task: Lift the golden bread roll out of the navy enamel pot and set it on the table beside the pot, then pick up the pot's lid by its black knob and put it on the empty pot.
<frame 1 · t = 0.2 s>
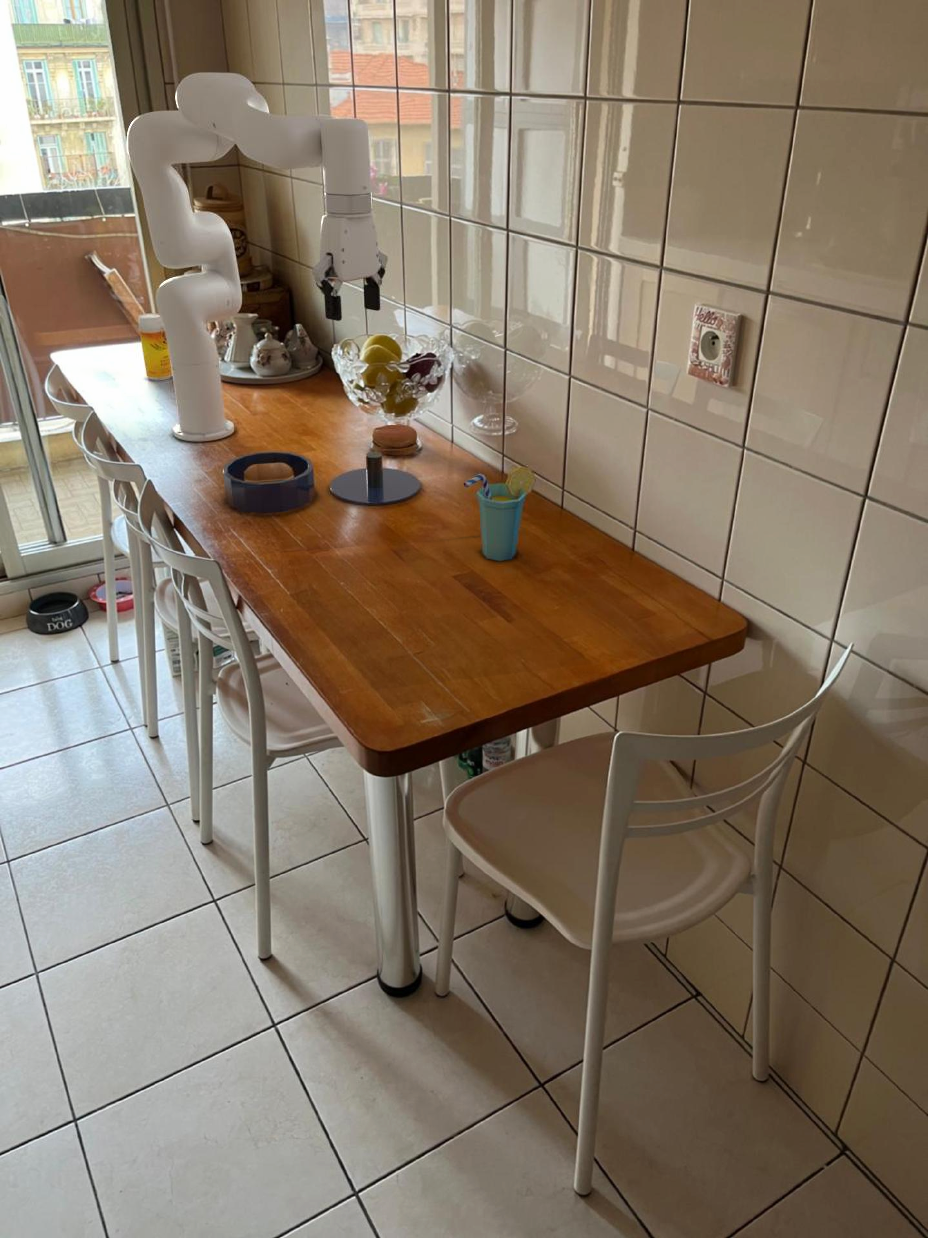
hand: (353, 314, 157), 31 cm above the table, tool pointing down, fingers open, 9 cm apart
lid: (375, 487, 170), point 1 cm above the table
pot: (271, 498, 166), on the table
burger: (394, 450, 189), on the table
yellow tall cylinder: (160, 378, 229), on the table
bread: (270, 495, 166), resting on pot
cup: (495, 556, 149), on the table
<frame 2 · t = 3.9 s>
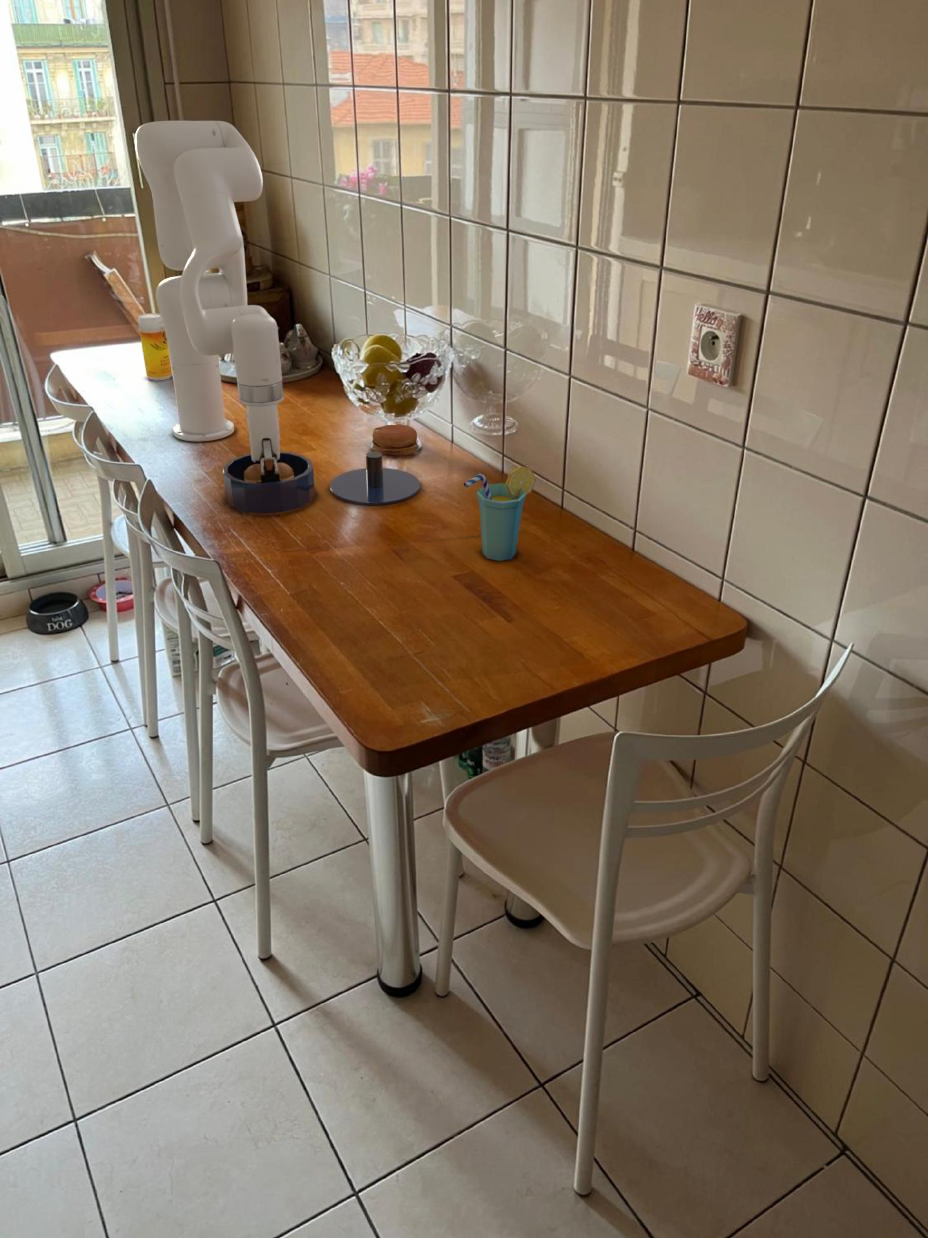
hand: (270, 485, 165), 3 cm above the table, tool pointing down, fingers open, 9 cm apart
nothing on the table moved.
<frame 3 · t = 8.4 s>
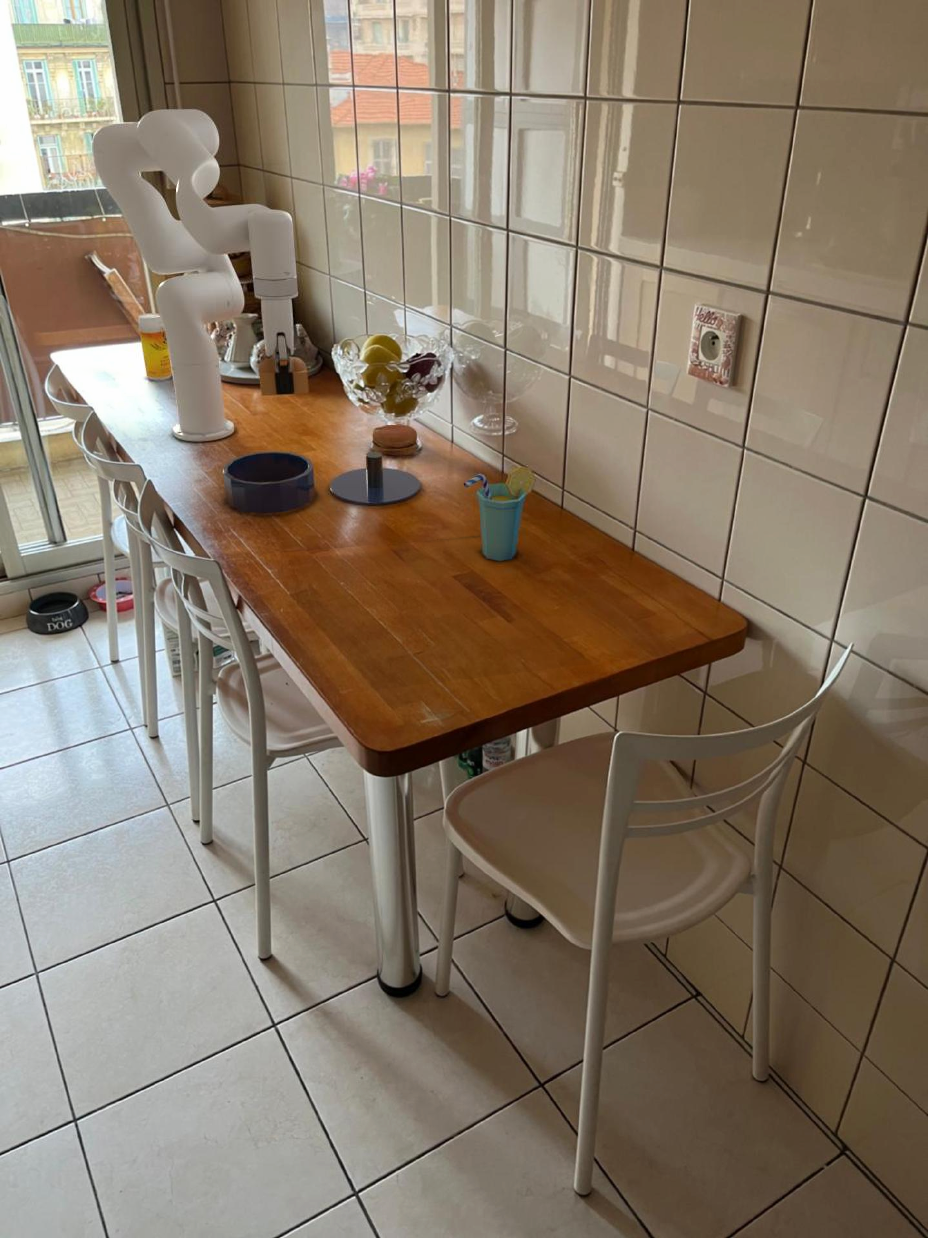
hand: (284, 387, 171), 16 cm above the table, tool pointing down, fingers closed on bread, 5 cm apart
bread: (284, 390, 171), point 15 cm above the table, touching gripper
everything else where it was.
when the fingers open (0 cm above the table, at t = 12.3 s): bread stays where it is, on the table.
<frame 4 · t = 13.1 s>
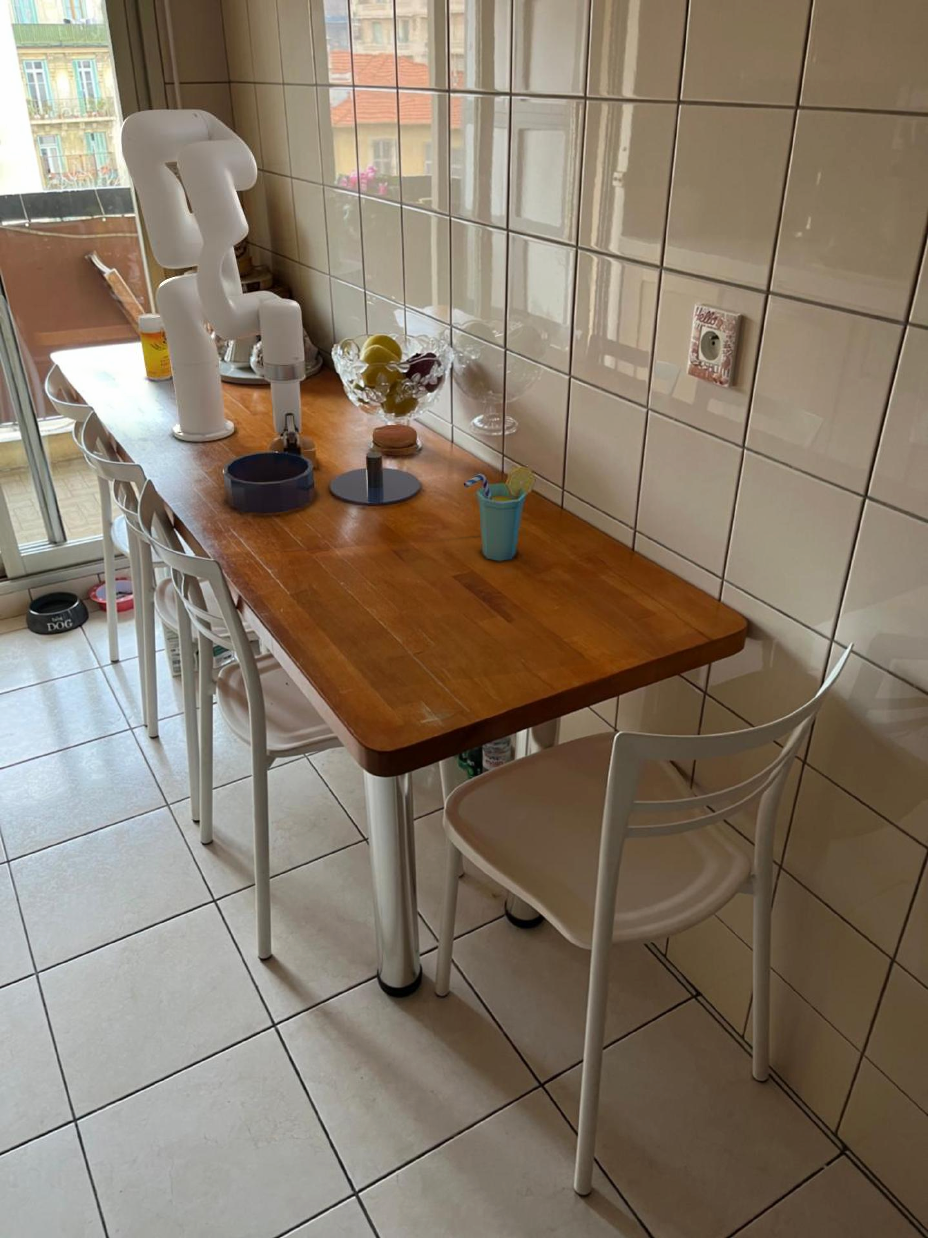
hand: (291, 457, 179), 2 cm above the table, tool pointing down, fingers open, 9 cm apart
bread: (293, 466, 180), on the table
everything else where it was.
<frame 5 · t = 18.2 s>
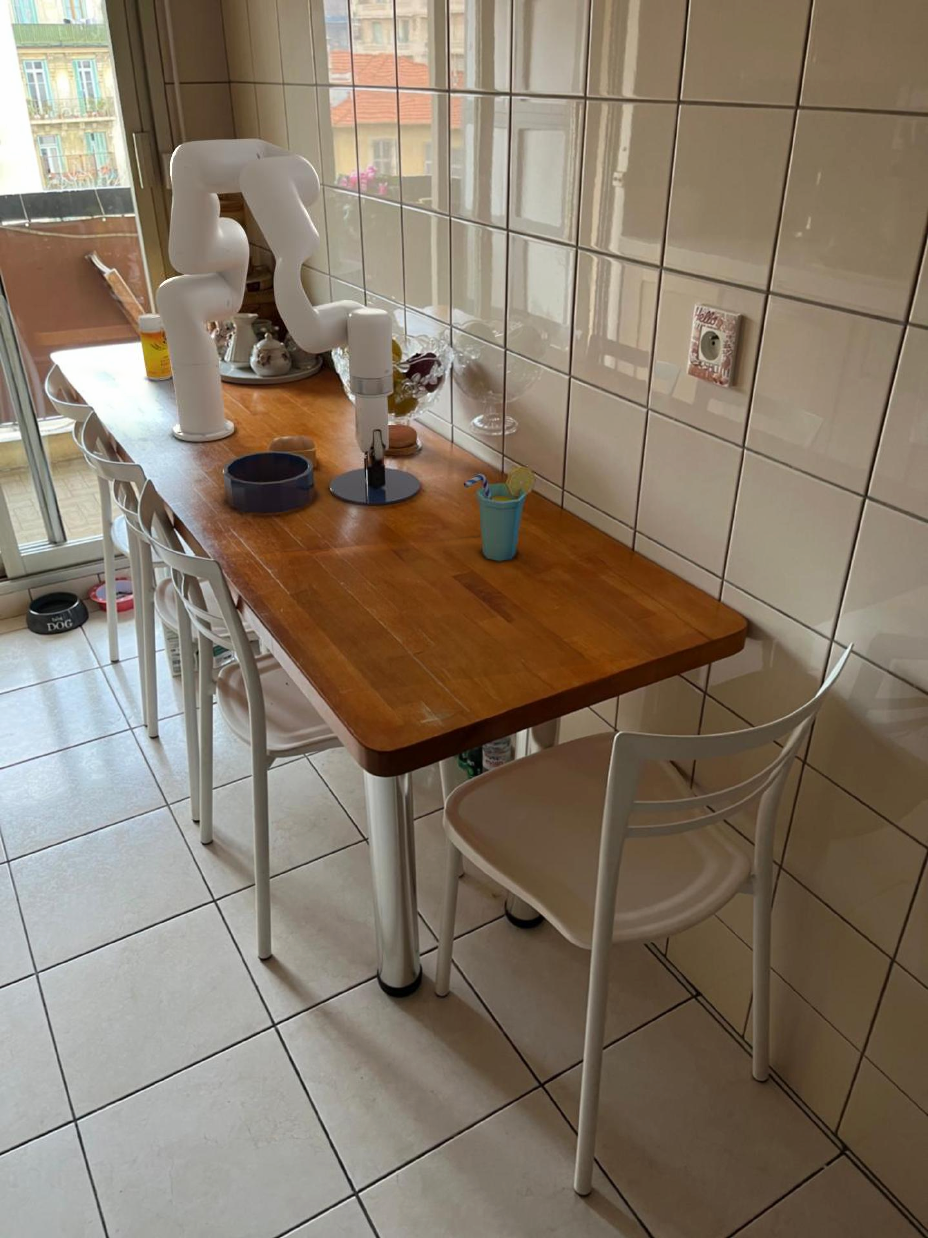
hand: (375, 481, 169), 2 cm above the table, tool pointing down, fingers closed on lid, 3 cm apart
lid: (375, 487, 170), point 1 cm above the table, touching gripper
everything else where it was.
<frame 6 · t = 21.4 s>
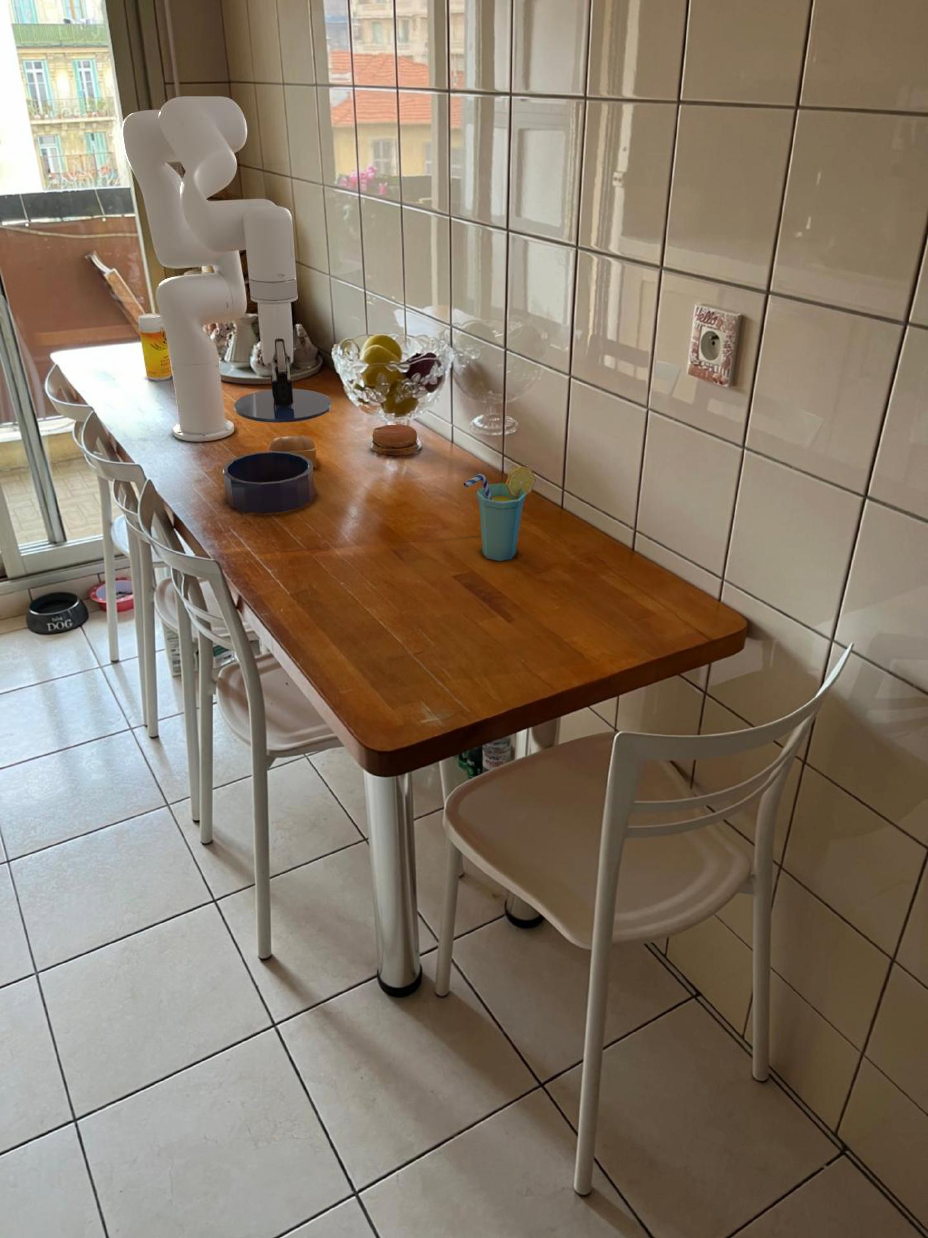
hand: (282, 399, 158), 18 cm above the table, tool pointing down, fingers closed on lid, 3 cm apart
lid: (283, 406, 159), point 17 cm above the table, touching gripper
everything else where it was.
when the fingers open (7 cm above the table, at t = 24.5 s): lid stays where it is, resting on pot.
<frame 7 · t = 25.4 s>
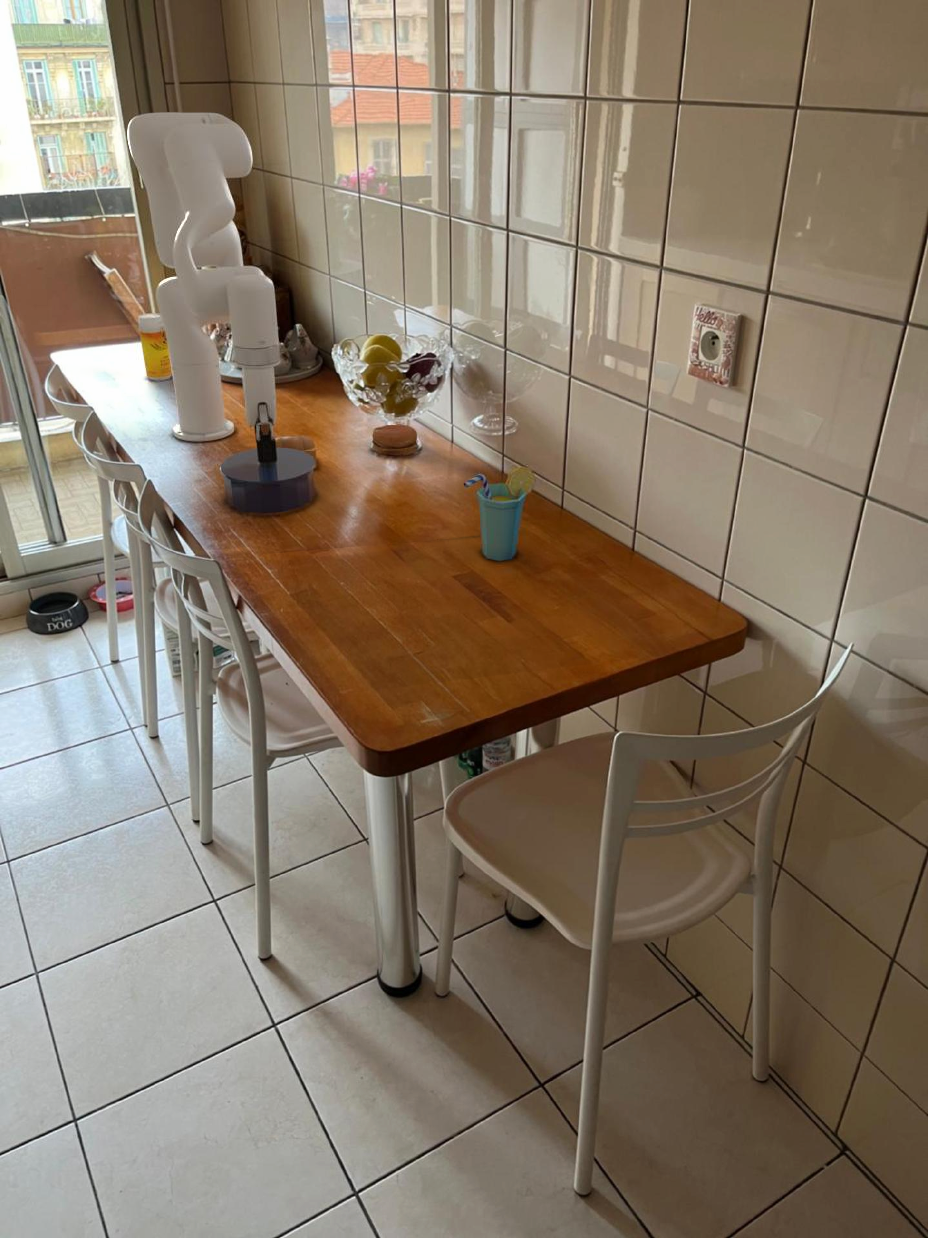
hand: (266, 451, 162), 9 cm above the table, tool pointing down, fingers open, 9 cm apart
lid: (268, 466, 163), point 6 cm above the table, touching pot
everything else where it was.
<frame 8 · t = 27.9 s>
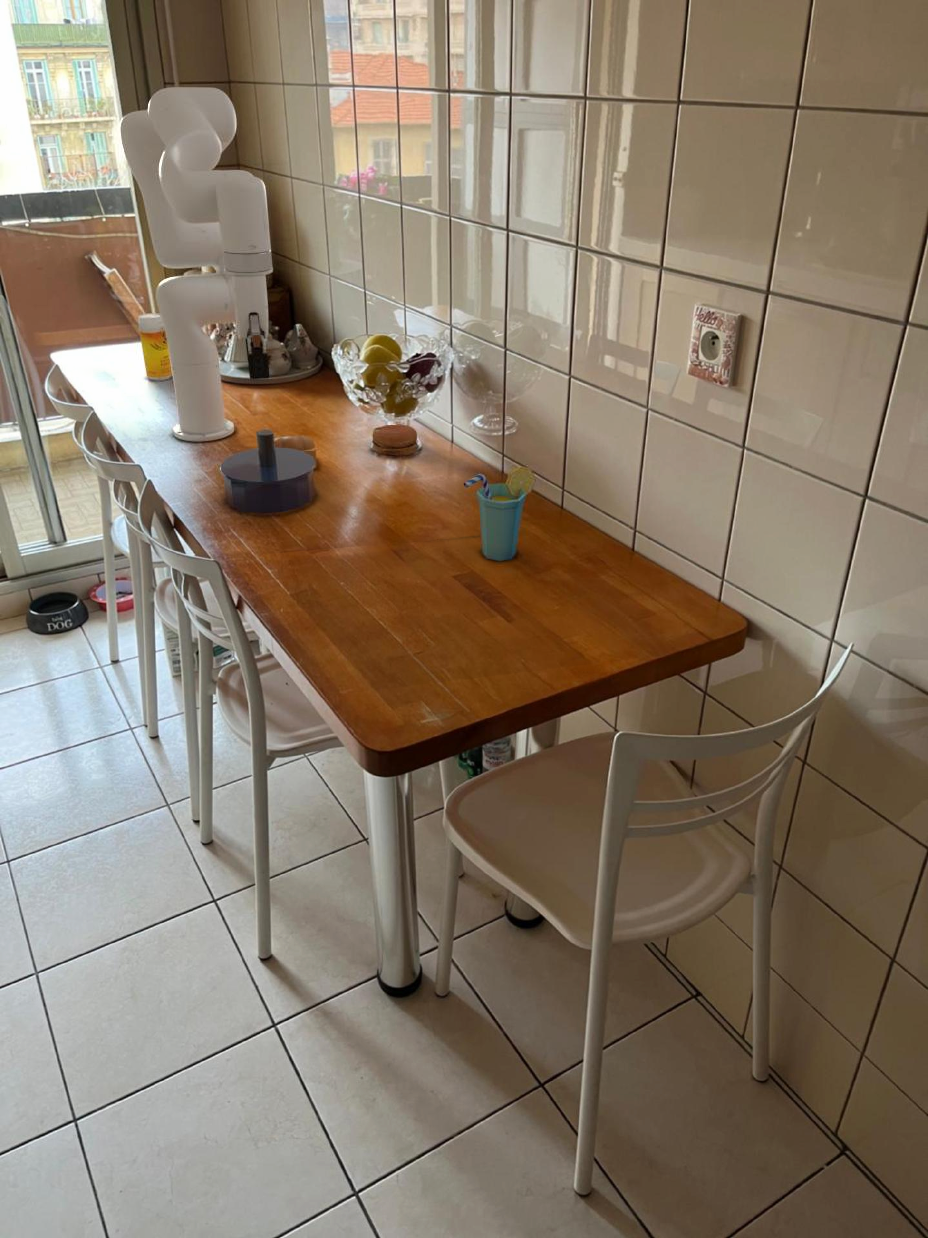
hand: (258, 369, 154), 23 cm above the table, tool pointing down, fingers open, 9 cm apart
nothing on the table moved.
at the end: bread inside the target area (0.3 cm from its centre), on the table; lid 0.0 cm off-centre on the pot, point 6.0 cm above the pot's base; lid tilted 0° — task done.
